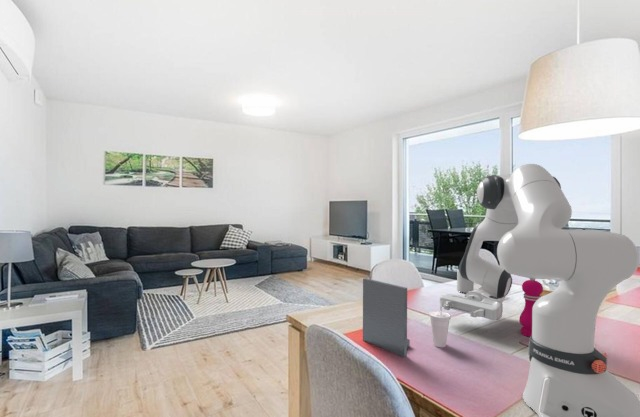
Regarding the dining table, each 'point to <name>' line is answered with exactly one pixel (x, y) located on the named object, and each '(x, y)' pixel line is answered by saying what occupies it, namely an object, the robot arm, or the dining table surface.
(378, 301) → the gray menu stand
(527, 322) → the pepper mill
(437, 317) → the smoothie
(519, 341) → the dining table surface
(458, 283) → the can
